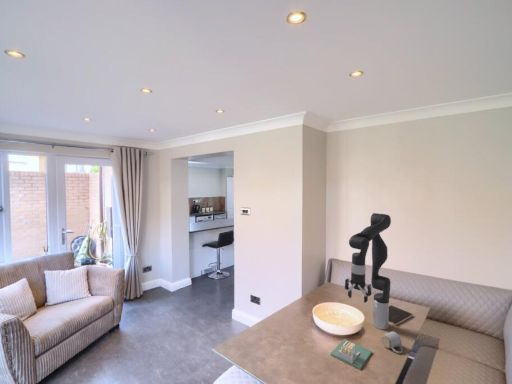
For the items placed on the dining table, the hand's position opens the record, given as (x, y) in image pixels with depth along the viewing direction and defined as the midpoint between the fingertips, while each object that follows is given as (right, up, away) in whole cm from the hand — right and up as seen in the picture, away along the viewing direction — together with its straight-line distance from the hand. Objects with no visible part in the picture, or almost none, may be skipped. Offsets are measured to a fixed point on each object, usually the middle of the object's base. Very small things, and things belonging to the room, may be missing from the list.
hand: (357, 299), depth 146 cm
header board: (-5, -28, -4) cm, 29 cm away
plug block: (-8, -27, -7) cm, 29 cm away
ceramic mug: (+21, -29, +2) cm, 36 cm away
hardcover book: (+40, -28, +37) cm, 61 cm away
